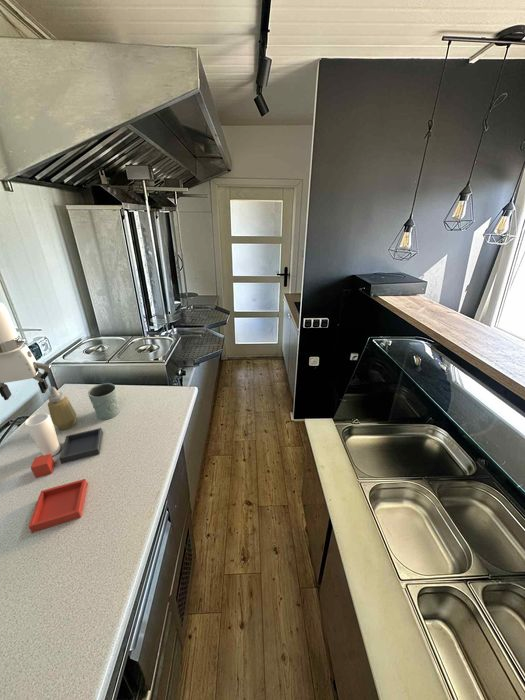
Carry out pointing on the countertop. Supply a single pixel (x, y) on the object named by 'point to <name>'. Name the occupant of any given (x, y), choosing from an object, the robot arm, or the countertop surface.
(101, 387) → the green pot
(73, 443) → the graphite tray
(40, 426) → the drinking glass
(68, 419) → the squeeze bottle
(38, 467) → the red block
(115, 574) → the countertop surface
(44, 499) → the red tray
